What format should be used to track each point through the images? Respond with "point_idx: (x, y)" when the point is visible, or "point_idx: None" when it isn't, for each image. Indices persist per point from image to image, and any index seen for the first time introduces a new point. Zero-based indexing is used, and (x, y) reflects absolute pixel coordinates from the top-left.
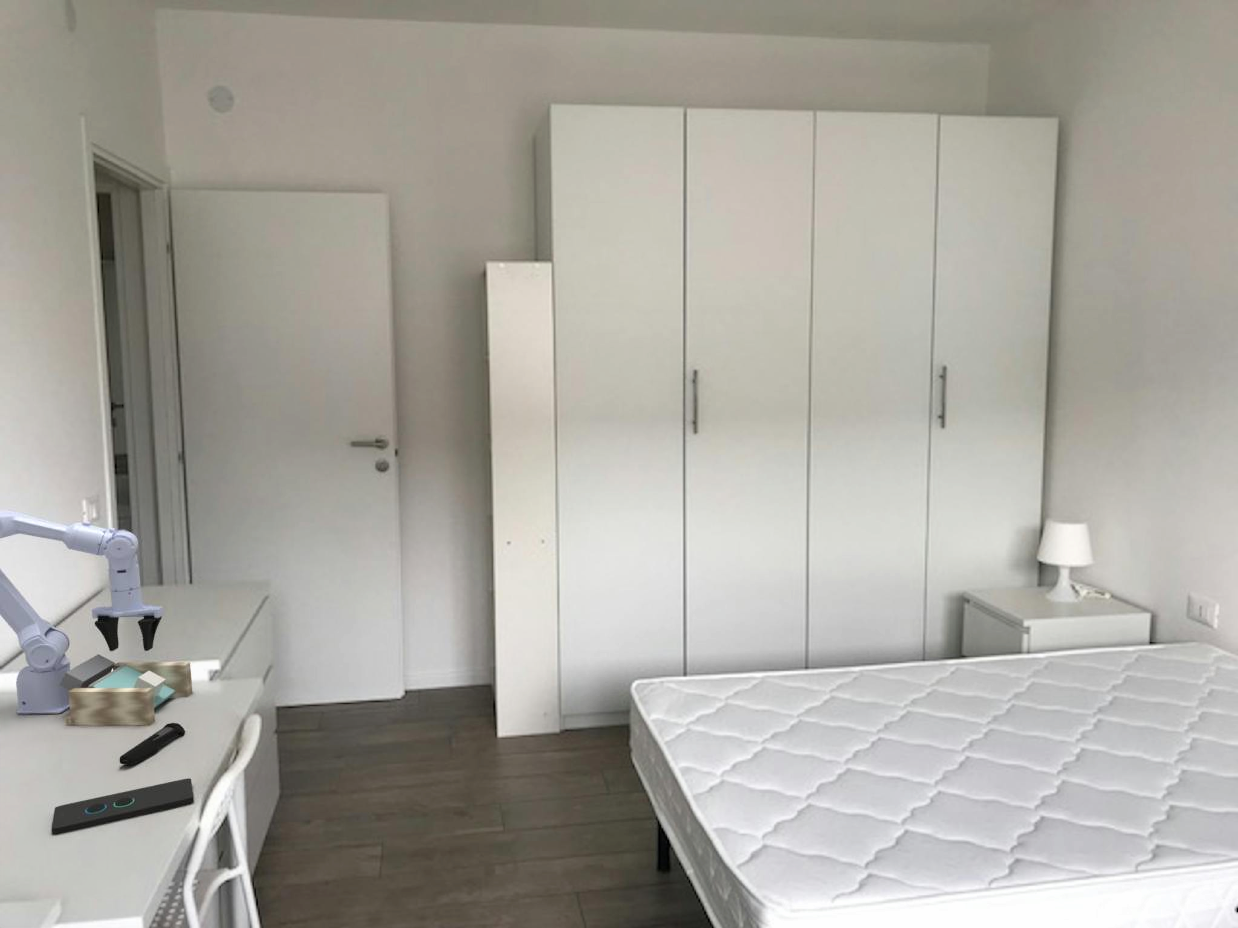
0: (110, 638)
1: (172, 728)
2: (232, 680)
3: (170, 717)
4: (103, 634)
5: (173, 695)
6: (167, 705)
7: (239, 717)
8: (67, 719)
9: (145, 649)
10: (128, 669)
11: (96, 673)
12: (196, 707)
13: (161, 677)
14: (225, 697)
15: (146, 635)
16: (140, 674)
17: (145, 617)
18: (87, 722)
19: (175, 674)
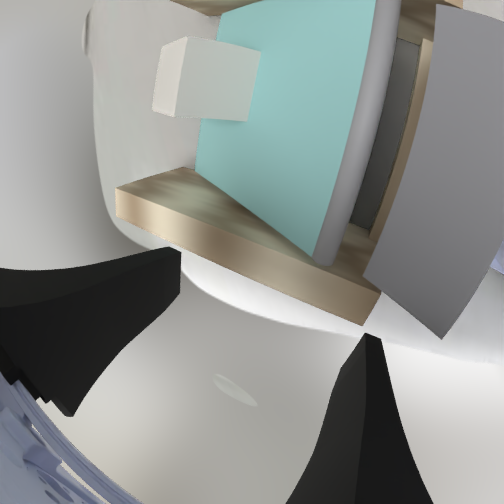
0: (357, 402)
1: None
2: (139, 243)
3: (182, 37)
4: (400, 440)
5: None
6: None
7: (90, 54)
8: None
9: (169, 249)
10: (301, 223)
11: (423, 111)
12: (149, 93)
13: (156, 108)
14: (120, 146)
15: (82, 268)
16: (262, 205)
17: (6, 361)
18: None
19: (161, 187)
